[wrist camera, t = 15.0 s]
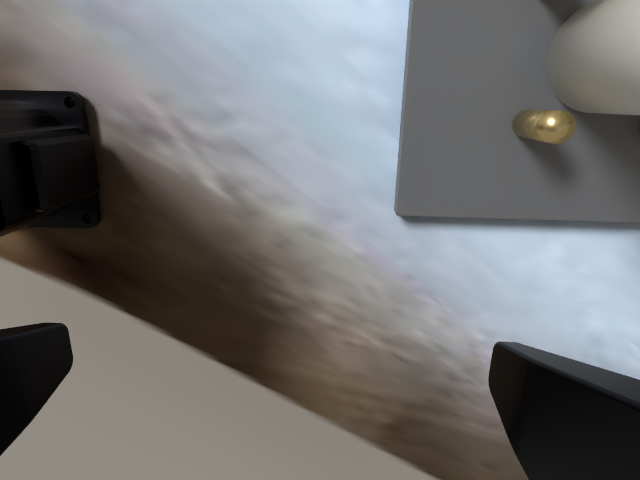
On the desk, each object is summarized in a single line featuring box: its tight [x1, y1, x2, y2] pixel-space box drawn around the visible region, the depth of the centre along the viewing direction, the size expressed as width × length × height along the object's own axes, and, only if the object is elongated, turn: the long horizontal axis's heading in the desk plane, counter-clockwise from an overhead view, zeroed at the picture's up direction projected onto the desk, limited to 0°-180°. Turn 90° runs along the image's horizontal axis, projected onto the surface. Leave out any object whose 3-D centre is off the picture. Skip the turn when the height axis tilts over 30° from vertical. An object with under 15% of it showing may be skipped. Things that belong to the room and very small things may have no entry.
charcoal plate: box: [394, 0, 640, 223], centre depth 17 cm, size 16×14×4 cm
